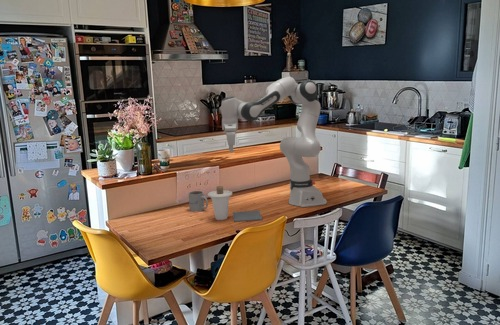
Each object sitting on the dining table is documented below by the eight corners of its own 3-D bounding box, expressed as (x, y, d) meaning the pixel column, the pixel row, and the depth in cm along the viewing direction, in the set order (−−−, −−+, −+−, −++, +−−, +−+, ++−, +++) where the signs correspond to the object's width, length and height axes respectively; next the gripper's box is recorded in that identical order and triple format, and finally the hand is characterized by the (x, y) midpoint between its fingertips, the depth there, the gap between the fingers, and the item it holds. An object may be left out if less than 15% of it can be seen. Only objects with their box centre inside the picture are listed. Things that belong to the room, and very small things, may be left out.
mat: (259, 211, 241) (259, 210, 241) (262, 220, 226) (262, 218, 226) (232, 213, 240) (232, 212, 240) (234, 221, 225) (234, 220, 225)
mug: (186, 209, 249) (185, 193, 247) (198, 206, 255) (197, 190, 253) (200, 213, 241) (199, 196, 239) (211, 210, 247) (210, 193, 245)
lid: (231, 191, 236) (231, 183, 235) (233, 197, 224) (232, 189, 223) (208, 192, 235) (207, 184, 234) (208, 199, 222) (207, 190, 222)
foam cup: (227, 221, 226) (226, 197, 224) (210, 220, 228) (209, 197, 226) (231, 215, 236) (230, 192, 233) (215, 215, 237) (214, 192, 235)
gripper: (223, 124, 247) (224, 148, 250) (224, 128, 227) (226, 154, 230) (234, 124, 248) (235, 147, 250) (236, 128, 228) (237, 153, 230)
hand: (231, 151), depth 240 cm, fingers open, 8 cm apart
